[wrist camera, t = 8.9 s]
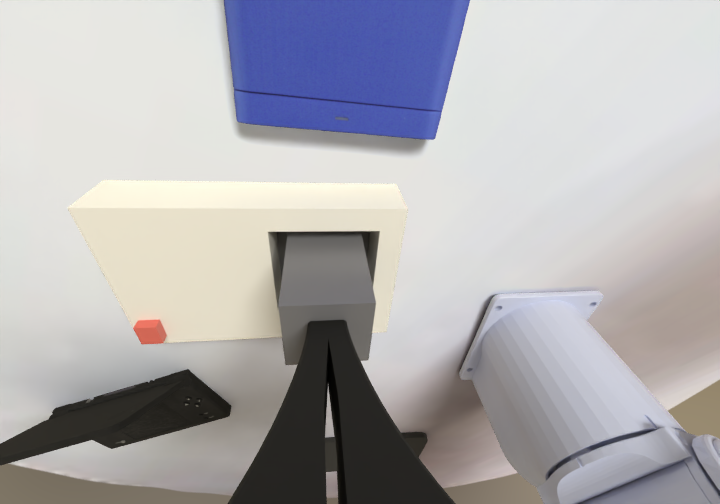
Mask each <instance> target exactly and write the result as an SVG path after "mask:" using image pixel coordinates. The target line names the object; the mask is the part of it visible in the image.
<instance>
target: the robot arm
mask: <svg viewBox="0 0 720 504" xmlns="http://www.w3.org/2000/svg"><path fill="white" fill-rule="evenodd" d="M602 299H603V294H602V293H601V292H599V291H571V292H542V293H513V294H497V295H495V296H494V297H493V298H492V299H491V302H490V304H489V306H488V308H487V311H486V313H485V315H484V318H483V320H482V322H481V324H480V327H479V329H478V331H477V334H476V336H475V338H474V340H473V343H472V345H471V347H470V350H469V352H468V354H467V356H466V359H465V361H464V363H463V366H462V368H461V370H460V372H459V376H460V378H461V379H462V380H472V381H473V384H474V386H475V388H476V391H477V393H478V395H479V398H480V400H481V402H482V405H483V407H484V409H485V412H486V414H487V416H488V419H489V421H490V423H491V426H492V428H493V430H494V433H495V435H496V437H497V440H498V442H499V444H500V447H501V449H502V451H503V453H504V455H505V457H506V458H507V460H508V461H509V463H510V464H511V465H512V467H513V468H514V469H515V470H516V471H517V472H518V473H519V474H520V475H521V476H522V477H523V478H524V479H525V480H527V481H528V482H529V483H530V484H532V485H533V486H535V487H537V490H538V492H539V494H540V497H541V499H542V501H543V503H544V504H720V439H719V438H716V437H714V436H712V435H708V434H706V435H701V436H695V435H692V434H689V433H687V432H686V431H685V430H684V429H683V428H682V427H681V426H680V424H679V423H678V422H677V421H676V420H675V419H674V418H673V417H672V415H671V414H670V413H669V412H668V411H667V410H666V409H665V408H664V406H663V405H662V404H661V403H660V402H659V401H658V400H657V399H656V397H655V396H654V395H653V394H652V393H651V392H650V391H649V390H648V389H647V387H646V386H645V385H644V384H643V383H642V382H641V381H640V380H639V378H638V377H637V376H636V375H635V374H634V373H633V372H632V371H631V369H630V368H629V367H628V366H627V365H626V364H625V363H624V362H623V360H622V359H621V358H620V357H619V356H618V355H617V354H616V353H615V351H614V350H613V349H612V348H611V347H610V346H609V345H608V344H607V343H606V341H605V340H604V339H603V338H602V337H601V336H600V335H599V334H598V332H597V331H596V330H595V329H594V328H593V327H592V326H591V325H590V323H589V322H588V321H587V320H588V318H589V317H590V315H591V314H592V313H593V311H594V310H595V309H596V307H597V306H598V305H599V303H600V302H601V300H602ZM328 386H329V394H330V402H331V411H332V419H333V427H334V435H335V444H336V456H337V480H338V504H455V503H454V501H453V500H452V499H451V498H450V497H449V496H448V494H447V493H446V492H445V491H444V490H443V488H442V487H441V486H440V485H439V484H438V482H437V481H436V480H435V479H434V477H433V476H432V475H431V473H430V472H429V471H428V470H427V468H426V467H425V466H424V465H423V463H422V462H421V460H420V459H419V458H418V456H417V455H416V454H415V452H414V451H413V449H412V448H411V447H410V445H409V444H408V443H407V441H406V440H405V438H404V437H403V436H402V434H401V433H400V431H399V429H398V428H397V426H396V425H395V423H394V422H393V420H392V419H391V417H390V416H389V414H388V412H387V411H386V409H385V407H384V406H383V404H382V402H381V401H380V399H379V397H378V395H377V393H376V392H375V390H374V388H373V386H372V384H371V382H370V380H369V378H368V376H367V374H366V372H365V370H364V368H363V366H362V364H361V361H360V359H359V357H358V355H357V352H356V350H355V347H354V345H353V342H352V339H351V336H350V333H349V330H348V326H347V322H346V321H345V320H326V321H310V322H309V323H308V327H307V334H306V338H305V343H304V346H303V350H302V353H301V357H300V360H299V362H298V365H297V368H296V371H295V374H294V377H293V379H292V382H291V384H290V387H289V389H288V392H287V394H286V396H285V399H284V401H283V403H282V406H281V408H280V410H279V412H278V414H277V416H276V419H275V421H274V423H273V425H272V427H271V429H270V431H269V433H268V435H267V436H266V438H265V440H264V442H263V444H262V446H261V448H260V450H259V452H258V453H257V455H256V457H255V459H254V461H253V462H252V464H251V466H250V467H249V469H248V471H247V472H246V474H245V476H244V477H243V479H242V481H241V482H240V484H239V486H238V487H237V489H236V491H235V492H234V494H233V496H232V498H231V499H230V501H229V502H228V504H327V503H326V502H327V501H326V465H325V425H326V407H327V389H328Z"/></svg>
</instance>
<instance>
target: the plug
mask: <svg viewBox="0 0 720 504" xmlns="http://www.w3.org/2000/svg"><path fill="white" fill-rule="evenodd" d="M278 308H279V316H280V324H281V332H282V340H283V348H284V356H285V364H286V365H296V364H298V362H299V360H300V357H301V353H302V350H303V346H304V343H305V338H306V334H307V327H308V323H309V322H310V321H326V320H345V321H346V322H347V326H348V330H349V333H350V336H351V339H352V342H353V345H354V347H355V350H356V352H357V355H358V357H359V359H360V361H363V360H368V359H369V351H370V344H371V337H372V329H373V322H374V315H375V308H376V300H375V295H374V291H373V286H372V281H371V276H370V272H369V267H368V262H367V258H366V253H365V248H364V243H363V239H362V234H361V231H304V232H288V234H287V242H286V250H285V258H284V266H283V274H282V282H281V289H280V297H279V305H278Z"/></svg>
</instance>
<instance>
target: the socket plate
mask: <svg viewBox="0 0 720 504" xmlns="http://www.w3.org/2000/svg"><path fill="white" fill-rule="evenodd" d="M68 210H69V212H70V214H71V216H72V217H73V219H74V221H75V223H76V225H77V227H78V228H79V230H80V232H81V234H82V236H83V237H84V239H85V241H86V243H87V245H88V247H89V248H90V250H91V252H92V254H93V256H94V258H95V259H96V261H97V263H98V265H99V267H100V269H101V270H102V272H103V274H104V276H105V278H106V280H107V281H108V283H109V285H110V287H111V289H112V291H113V292H114V294H115V296H116V298H117V300H118V302H119V303H120V305H121V307H122V309H123V311H124V313H125V314H126V316H127V318H128V320H129V322H130V323H131V325H132V327H133V329H134V331H135V333H136V335H137V336H138V338H139V340H140V342H141V344H158V343H172V342H193V341H213V340H234V339H255V338H275V337H282V332H281V324H280V316H279V308H278V305H279V297H280V289H281V282H282V274H283V266H284V258H285V250H286V242H287V234H288V232H304V231H361V234H362V239H363V243H364V248H365V253H366V258H367V262H368V267H369V272H370V276H371V281H372V286H373V291H374V295H375V300H376V308H375V315H374V322H373V329H372V333H378V332H387V326H388V320H389V315H390V309H391V303H392V298H393V292H394V286H395V281H396V275H397V269H398V264H399V258H400V252H401V247H402V241H403V235H404V230H405V224H406V218H407V213H408V208H407V206H406V204H405V201H404V199H403V197H402V195H401V193H400V191H399V189H398V187H397V185H396V184H358V183H285V182H212V181H139V180H103V181H101V182H100V183H99V184H98V185H96V186H95V187H94V188H92V189H91V190H90V191H89V192H87V193H86V194H85V195H83V196H82V197H81V198H80V199H78V200H77V201H76V202H74V203H73V204H72V205H71V206H69V207H68Z"/></svg>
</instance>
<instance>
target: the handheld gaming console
mask: <svg viewBox="0 0 720 504" xmlns="http://www.w3.org/2000/svg"><path fill="white" fill-rule="evenodd" d="M230 411H231V405H229V404H228V403H227V402H226V401H225V400H224V399H222V398H221V397H220V396H219V395H218V394H216V393H215V392H214V391H213V390H212V389H210V388H209V387H208V386H207V385H206V384H205V383H203V382H202V381H201V380H200V379H199V378H197V377H196V376H195V375H194V374H193V373H191V372H190V370H189V369H187V370H184V371H180V372H177V373H174V374H171V375H168V376H165V377H161V378H158V379H155V381H153V380H151V381H150V382H149V383H148V382H145V383H141V384H138V385H134V386H131V387H127V388H124V389H120V390H117V391H114V392H110V393H107V394H104V395H101V396H97V397H94V399H93V400H91V399H87V400H84V401H80V402H77V403H74V404H68V405H65V406H62V407H58V408H55V409H54V410H53V412H52V413H53V414H52V415H51V416H50V418H49V419H48V420H46V421H43V422H42V423H40V424H38V425H36V426H34V427H32V428H30V429H28V430H26V431H24V432H22V433H20V434H18V435H16V436H15V437H13V438H11V439H9V440H7V441H5V442H3V443H1V444H0V465H4V464H7V463H11V462H14V461H18V460H21V459H25V458H29V457H32V456H36V455H39V454H43V453H46V452H50V451H54V450H57V449H61V448H64V447H68V446H71V445H75V444H78V443H82V442H86V441H89V440H94V441H96V442H98V443H100V444H102V445H104V446H106V447H108V448H111V449H113V448H117V447H120V446H124V445H128V444H131V443H135V442H139V441H143V440H146V439H150V438H153V437H157V436H161V435H164V434H168V433H172V432H175V431H179V430H182V429H186V428H190V427H193V426H197V425H200V424H204V423H208V422H211V421H215V420H218V419H222V418H225V417H228V416H229V415H230Z"/></svg>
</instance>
